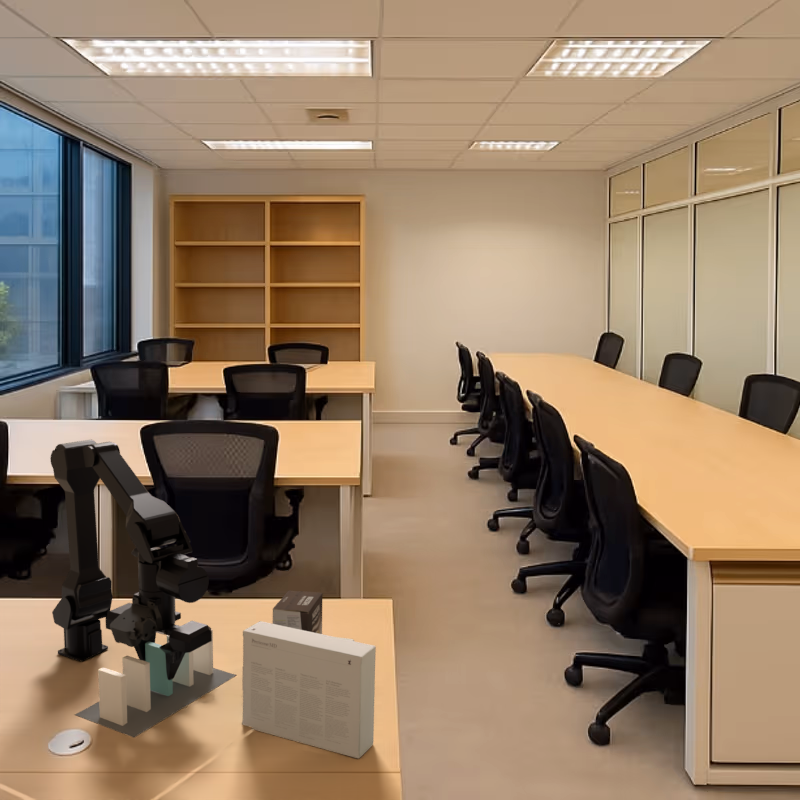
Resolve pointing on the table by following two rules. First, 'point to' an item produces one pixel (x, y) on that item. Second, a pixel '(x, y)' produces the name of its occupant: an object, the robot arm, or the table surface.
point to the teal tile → (158, 669)
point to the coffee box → (300, 611)
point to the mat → (160, 704)
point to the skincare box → (309, 687)
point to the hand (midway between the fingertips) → (159, 675)
